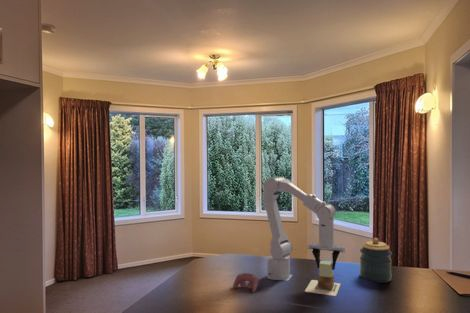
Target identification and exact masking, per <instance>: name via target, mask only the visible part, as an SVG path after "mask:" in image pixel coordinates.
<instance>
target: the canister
mask: <svg viewBox="0 0 470 313" xmlns="http://www.w3.org/2000/svg"><path fill="white" fill-rule="evenodd" d="M361 246H362V247H361V248H360V250H359V252H360V254H361V255H360V256H359V262H360V264H359V266H360V267H359V276H360V278H361V279H364V280H366V281H369V282H374V283H380V284H386V283H390V282H391V280H392V277H393V276H392V261H393V260H392V258H391V255H392V254H393V252H392V251H391V250H390V246H389V245H388V244H387V243H386V242H383V241H380V240H379V238H378V237H374V238H372V240H367V241H365V242H364V243H362V244H361Z"/></svg>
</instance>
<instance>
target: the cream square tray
mask: <svg viewBox="0 0 470 313" xmlns="http://www.w3.org/2000/svg"><path fill="white" fill-rule="evenodd" d="M340 287H341V283H339V282H334V287H333V289H332V290H327V289H320V288H318V279H311V280H310V282H309V283H308V285H307V287H306V288H305V290H304V292H306V293H313V294H318V295H319V294H320V295H326V296H332V297H333V296H334V297H337V294H338V292H339V289H340Z"/></svg>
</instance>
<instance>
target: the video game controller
mask: <svg viewBox="0 0 470 313" xmlns="http://www.w3.org/2000/svg"><path fill="white" fill-rule="evenodd" d="M259 280H260V279H259V278H258V276H256V275H254V274H253V273H252V274H251V273H247V272H244V273H238V275H236V277H235V279H234V281H233V285H232V286H233V290H236V289H237V288H238V286H240V287H241V288H242V289H243V288H246V287H247V288H248V289H249V290H251V289H252V293H255V292H256V291H257V288H258V284H259V282H260V281H259ZM246 282H247V283H246Z"/></svg>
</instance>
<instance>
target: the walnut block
mask: <svg viewBox="0 0 470 313" xmlns="http://www.w3.org/2000/svg"><path fill="white" fill-rule="evenodd" d="M317 281H318V288H320V289H327V290H332V289H333V287H334V283H335V273H334V272H332V276H331V277H323V276H319V274H318V275H317Z"/></svg>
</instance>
